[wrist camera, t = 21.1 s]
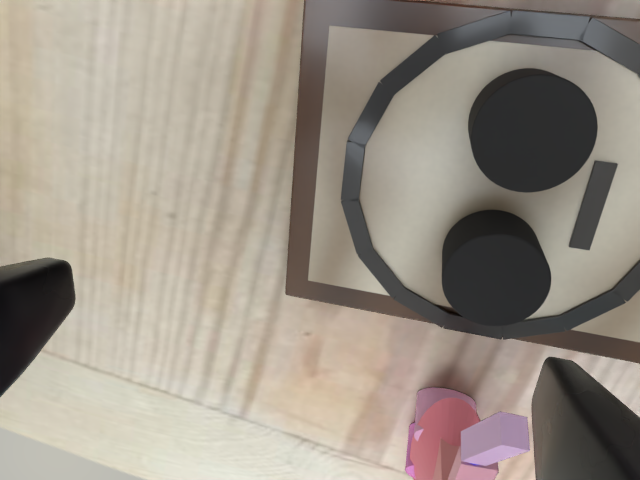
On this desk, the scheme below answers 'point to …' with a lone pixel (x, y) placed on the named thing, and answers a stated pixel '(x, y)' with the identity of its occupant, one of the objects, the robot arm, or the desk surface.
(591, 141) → the black short cylinder
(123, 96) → the desk surface
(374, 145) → the board
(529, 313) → the dot
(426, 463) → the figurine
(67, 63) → the desk surface
